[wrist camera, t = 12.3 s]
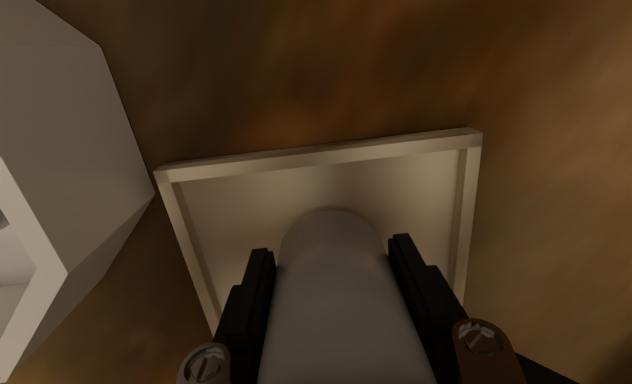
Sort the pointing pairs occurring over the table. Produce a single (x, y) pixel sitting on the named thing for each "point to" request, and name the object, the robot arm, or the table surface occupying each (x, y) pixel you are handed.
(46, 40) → the bowl
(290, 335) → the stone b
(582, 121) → the table surface
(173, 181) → the tray
